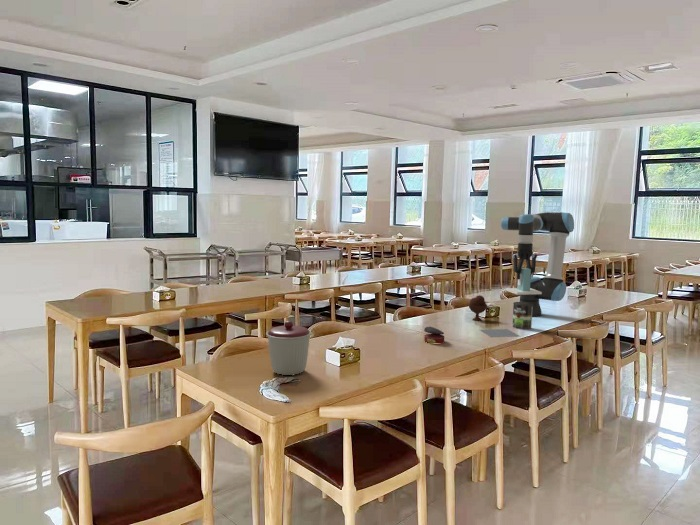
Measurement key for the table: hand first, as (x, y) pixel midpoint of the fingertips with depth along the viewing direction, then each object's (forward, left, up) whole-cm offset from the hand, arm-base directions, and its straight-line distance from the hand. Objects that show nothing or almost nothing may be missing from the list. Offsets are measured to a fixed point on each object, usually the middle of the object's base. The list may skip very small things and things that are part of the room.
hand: (523, 285), depth 286 cm
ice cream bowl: (+17, -23, -25) cm, 38 cm away
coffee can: (0, 0, -25) cm, 25 cm away
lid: (0, 0, -4) cm, 4 cm away
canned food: (+57, +22, -25) cm, 66 cm away
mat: (+18, +11, -24) cm, 32 cm away
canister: (+130, +61, -25) cm, 145 cm away
